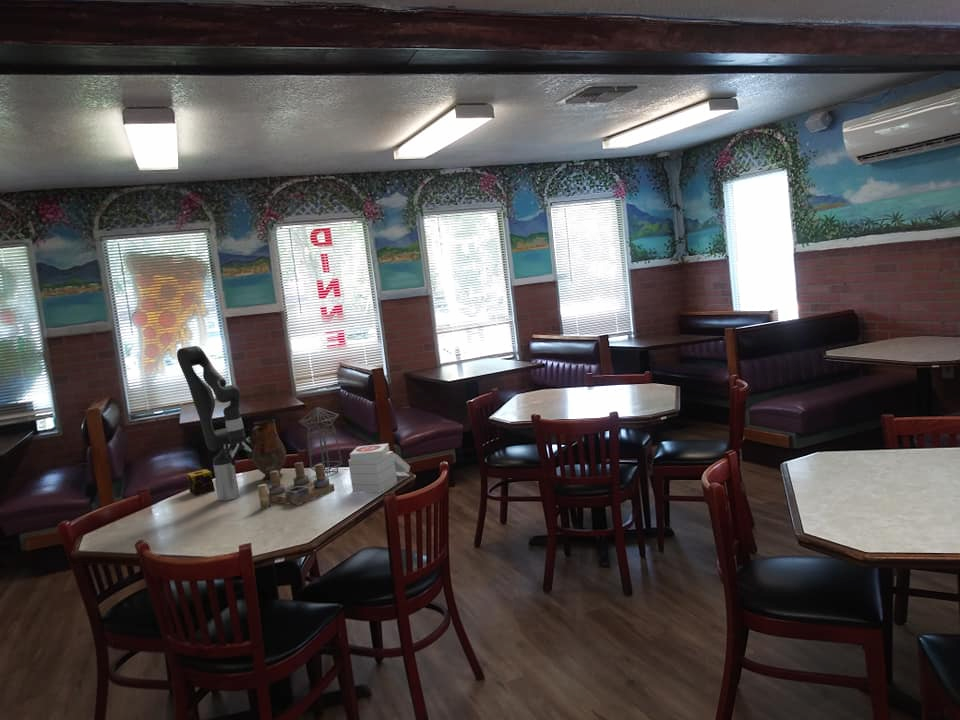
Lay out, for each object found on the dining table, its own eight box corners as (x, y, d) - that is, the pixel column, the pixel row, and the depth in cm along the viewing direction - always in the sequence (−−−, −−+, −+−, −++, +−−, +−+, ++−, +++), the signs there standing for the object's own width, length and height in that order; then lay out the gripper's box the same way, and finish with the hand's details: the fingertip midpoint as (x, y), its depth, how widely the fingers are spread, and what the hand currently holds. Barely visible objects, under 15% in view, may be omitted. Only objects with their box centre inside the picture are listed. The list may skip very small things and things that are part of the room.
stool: (266, 501, 336) (262, 473, 334) (303, 486, 353) (299, 460, 352) (297, 505, 323) (293, 476, 321) (334, 490, 340) (330, 463, 339)
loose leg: (259, 508, 326) (255, 486, 324) (266, 505, 329) (263, 483, 328) (264, 509, 323) (261, 487, 322) (272, 506, 326) (268, 484, 325)
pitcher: (295, 472, 386) (286, 416, 382) (276, 484, 365) (267, 425, 361) (266, 474, 389) (257, 418, 386) (246, 486, 368) (236, 427, 365)
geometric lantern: (349, 470, 375) (339, 404, 370) (328, 480, 362) (318, 411, 357) (326, 469, 383) (316, 403, 378) (305, 478, 370) (294, 411, 365)
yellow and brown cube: (215, 490, 366) (212, 471, 365) (194, 496, 360) (191, 476, 359) (210, 487, 374) (206, 468, 373) (189, 492, 369) (186, 473, 368)
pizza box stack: (414, 474, 353) (409, 437, 351) (381, 493, 326) (375, 454, 324) (381, 473, 361) (376, 438, 359) (345, 492, 334) (340, 454, 332)
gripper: (244, 424, 345) (251, 457, 346) (216, 432, 334) (224, 466, 336) (253, 424, 339) (260, 458, 341) (225, 432, 329) (232, 467, 331)
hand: (242, 462), depth 338 cm, fingers open, 8 cm apart
